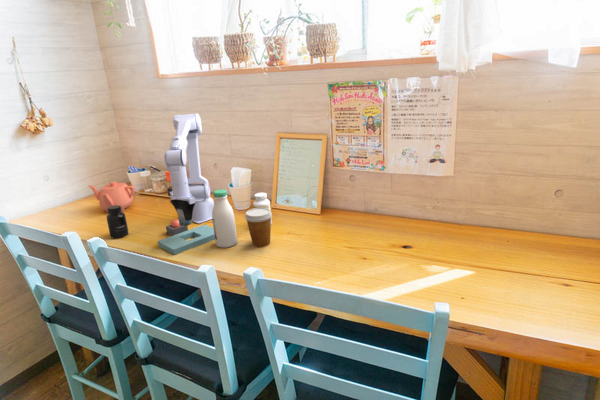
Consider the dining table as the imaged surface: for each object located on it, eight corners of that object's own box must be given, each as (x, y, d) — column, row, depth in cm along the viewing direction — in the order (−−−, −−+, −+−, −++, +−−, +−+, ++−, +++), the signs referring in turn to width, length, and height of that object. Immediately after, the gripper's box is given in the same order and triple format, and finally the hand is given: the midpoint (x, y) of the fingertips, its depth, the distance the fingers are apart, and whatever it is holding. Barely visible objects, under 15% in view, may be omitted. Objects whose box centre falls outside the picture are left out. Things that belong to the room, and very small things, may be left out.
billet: (188, 220, 153) (186, 205, 151) (193, 223, 149) (191, 208, 147) (177, 223, 150) (174, 208, 148) (182, 226, 147) (179, 211, 145)
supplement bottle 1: (122, 239, 158) (116, 210, 154) (106, 238, 160) (100, 210, 156) (132, 232, 165) (126, 204, 161) (117, 231, 166) (111, 204, 162)
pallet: (205, 229, 163) (204, 224, 162) (222, 236, 154) (221, 231, 154) (158, 246, 149) (157, 241, 149) (174, 255, 141) (173, 249, 141)
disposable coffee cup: (263, 235, 152) (260, 205, 149) (280, 242, 146) (277, 210, 142) (242, 244, 146) (238, 213, 142) (259, 251, 140) (256, 218, 136)
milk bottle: (241, 240, 149) (235, 188, 143) (229, 249, 143) (222, 195, 136) (224, 238, 152) (217, 187, 146) (211, 246, 146) (203, 193, 140)
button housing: (180, 228, 165) (179, 221, 164) (188, 232, 161) (187, 225, 160) (166, 233, 161) (165, 226, 160) (174, 237, 157) (173, 229, 156)
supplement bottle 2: (260, 221, 167) (257, 191, 163) (275, 222, 164) (272, 192, 160) (252, 227, 161) (248, 196, 157) (266, 228, 158) (263, 197, 154)
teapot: (108, 217, 184) (101, 188, 180) (93, 210, 195) (86, 183, 191) (141, 207, 195) (136, 180, 191) (125, 201, 206) (120, 175, 202)
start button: (178, 226, 162) (177, 218, 161) (182, 228, 160) (181, 220, 159) (171, 229, 160) (169, 221, 159) (175, 231, 158) (173, 223, 157)
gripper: (159, 182, 147) (166, 217, 152) (179, 189, 137) (185, 226, 142) (177, 178, 152) (183, 212, 156) (197, 184, 142) (203, 220, 146)
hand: (185, 218), depth 149 cm, fingers closed on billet, 4 cm apart
